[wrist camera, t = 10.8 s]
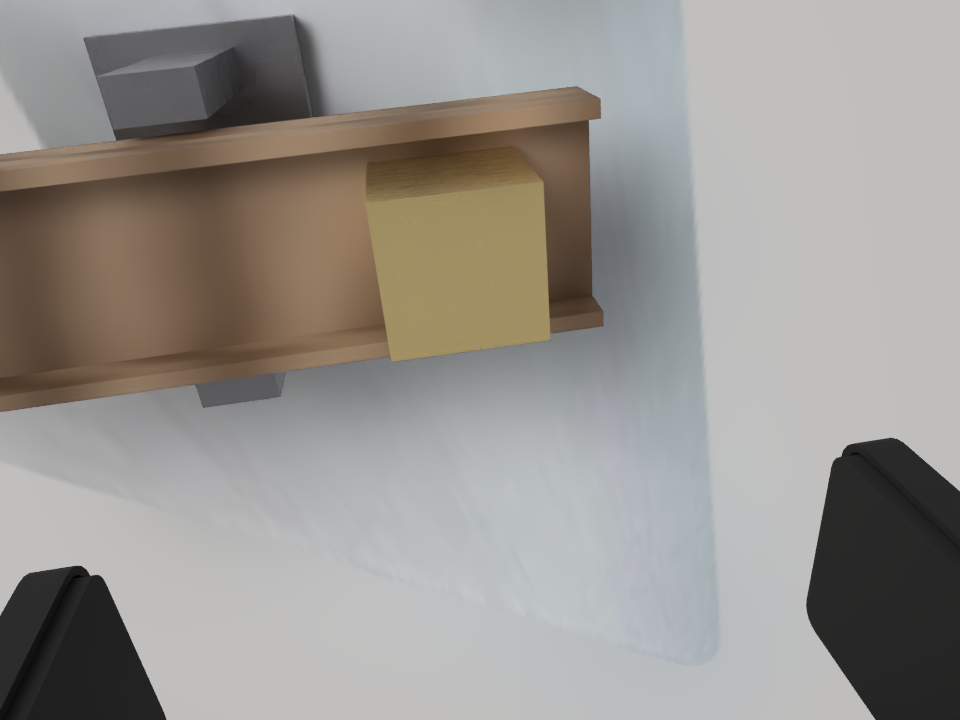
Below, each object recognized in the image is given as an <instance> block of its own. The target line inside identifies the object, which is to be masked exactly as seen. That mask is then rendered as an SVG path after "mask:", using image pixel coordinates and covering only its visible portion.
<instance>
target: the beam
mask: <svg viewBox="0 0 960 720" xmlns="http://www.w3.org/2000/svg"><path fill="white" fill-rule="evenodd" d="M593 119H601V103H600V98H598V97H596V96H594V95H592V94H590V93H588V92H587V91H585V90H583V89H581V88H579V87H577V86H576V87H568V88H559V89H551V90H542V91H534V92H526V93H517V94H509V95H500V96H492V97H483V98H475V99H466V100H458V101H449V102H441V103H432V104H424V105H416V106H407V107H399V108H390V109H382V110H373V111H365V112H356V113H348V114H339V115H331V116H322V117H314V118H306V119H297V120H289V121H280V122H272V123H263V124H255V125H246V126H238V127H229V128H221V129H212V130H204V131H195V132H187V133H177V134H170V135H162V136H153V137H145V138H136V139H128V140H119V141H111V142H102V143H94V144H85V145H77V146H69V147H60V148H52V149H43V150H35V151H26V152H18V153H9V154H1V155H0V412H4V411H11V410H18V409H25V408H32V407H39V406H46V405H53V404H60V403H67V402H74V401H81V400H88V399H95V398H102V397H109V396H116V395H123V394H130V393H137V392H144V391H151V390H158V389H165V388H172V387H179V386H186V385H193V384H200V383H207V382H214V381H221V380H228V379H235V378H242V377H249V376H256V375H263V374H271V373H278V372H285V371H292V370H299V369H306V368H313V367H320V366H327V365H334V364H341V363H348V362H355V361H362V360H369V359H376V358H383V357H390V351H389V345H388V339H387V333H386V326H385V320H384V314H383V308H382V302H381V296H380V290H379V284H378V278H377V272H376V265H375V259H374V253H373V247H372V241H371V235H370V229H369V223H368V217H367V211H366V205H365V196H366V166H367V162H376V161H384V160H393V159H402V158H410V157H419V156H427V155H436V154H444V153H453V152H462V151H470V150H479V149H487V148H496V147H505V146H514V147H515V148H516V149H517V151H518V152H519V153H520V154H521V155H522V157H523V158H524V159H525V160H526V161H527V163H528V164H529V165H530V166H531V167H532V169H533V170H534V171H535V172H536V173H537V175H538V176H539V177H540V178H541V179H542V181H543V183H544V206H545V228H546V251H547V273H548V296H549V318H550V334H551V333H558V332H565V331H572V330H579V329H586V328H593V327H600V326H603V310H602V309H601V307H600V306H599V305H598V303H597V302H596V300H595V299H594V297H593V296H592V261H591V211H590V162H589V120H593Z"/></svg>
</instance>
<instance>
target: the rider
mask: <svg viewBox="0 0 960 720" xmlns="http://www.w3.org/2000/svg"><path fill="white" fill-rule="evenodd" d="M365 205H366V211H367V217H368V223H369V229H370V235H371V241H372V247H373V253H374V259H375V265H376V272H377V278H378V284H379V290H380V296H381V302H382V308H383V314H384V320H385V326H386V333H387V339H388V345H389V351H390V357H391V362H395V361H402V360H409V359H417V358H424V357H431V356H439V355H446V354H453V353H460V352H468V351H475V350H482V349H490V348H497V347H504V346H512V345H519V344H526V343H533V342H541V341H548V340H550V318H549V296H548V273H547V251H546V228H545V206H544V183H543V181H542V179H541V178H540V177H539V176H538V175H537V173H536V172H535V171H534V170H533V169H532V167H531V166H530V165H529V164H528V163H527V161H526V160H525V159H524V158H523V157H522V155H521V154H520V153H519V152H518V151H517V149H516V148H515V147H514V146H505V147H496V148H487V149H479V150H470V151H462V152H453V153H444V154H436V155H427V156H419V157H410V158H402V159H393V160H384V161H376V162H367V166H366V196H365Z"/></svg>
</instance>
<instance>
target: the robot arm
mask: <svg viewBox="0 0 960 720" xmlns="http://www.w3.org/2000/svg"><path fill="white" fill-rule="evenodd" d="M806 607H807V613H808V617H809V620H810V623H811V625H812V627H813V629H814V630H815V632H816V634H817V635H818V637H819V638H820V640H821V641H822V642H823V644H824V645H825V647H826V648H827V650H828V651H829V653H830V654H831V656H832V657H833V658H834V660H835V661H836V663H837V664H838V666H839V667H840V669H841V670H842V672H843V673H844V674H845V676H846V677H847V679H848V680H849V682H850V683H851V685H852V686H853V687H854V689H855V690H856V692H857V693H858V695H859V696H860V698H861V699H862V701H863V702H864V704H865V705H866V706H867V708H868V709H869V711H870V712H871V714H872V715H873V717H874V718H875V719H876V720H960V491H959V490H957V489H956V488H955V487H954V486H953V485H952V484H950V483H949V482H948V481H947V480H946V479H945V478H944V477H942V476H941V475H940V474H939V473H938V472H937V471H935V470H934V469H933V468H932V467H931V466H930V465H928V464H927V463H926V462H925V461H924V460H923V459H922V458H920V457H919V456H918V455H917V454H916V453H915V452H914V451H912V450H911V449H910V448H909V447H908V446H906V445H905V444H904V443H903V442H901V441H900V440H898V439H894V438H887V439H880V440H874V441H868V442H861V443H855V444H851V445H848V446H847V447H846V448H845V449H844V450H843V453H842V456H841V457H839V458H836V459H835V460H834V462H833V464H832V467H831V473H830V478H829V483H828V489H827V494H826V499H825V505H824V511H823V516H822V521H821V526H820V532H819V537H818V542H817V548H816V553H815V559H814V564H813V569H812V574H811V580H810V586H809V591H808V596H807V603H806ZM0 720H166V717H165V714H164V712H163V710H162V707H161V705H160V703H159V701H158V699H157V696H156V694H155V692H154V689H153V687H152V685H151V683H150V681H149V678H148V677H147V674H146V672H145V669H144V667H143V665H142V663H141V661H140V659H139V656H138V654H137V652H136V650H135V647H134V645H133V643H132V641H131V639H130V636H129V634H128V632H127V629H126V627H125V625H124V623H123V621H122V618H121V616H120V614H119V612H118V609H117V607H116V605H115V603H114V600H113V598H112V596H111V594H110V592H109V590H108V587H107V585H106V583H105V581H104V579H103V578H102V577H101V576H99V575H93V576H90V575H89V573H88V571H87V570H86V569H85V568H83V567H82V566H72V567H65V568H59V569H53V570H46V571H40V572H34V573H29V574H27V575H26V576H24V577H23V579H22V580H21V581H20V582H19V584H18V586H17V587H16V589H15V591H14V593H13V594H12V596H11V598H10V600H9V601H8V603H7V605H6V607H5V608H4V610H3V612H2V614H1V616H0Z"/></svg>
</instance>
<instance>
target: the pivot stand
mask: <svg viewBox="0 0 960 720" xmlns="http://www.w3.org/2000/svg"><path fill="white" fill-rule="evenodd" d="M83 39H84V42H85V45H86V48H87V51H88V54H89V57H90V60H91V63H92V66H93V69H94V72H95V76H96V79H97V82H98V85H99V88H100V91H101V94H102V97H103V100H104V103H105V106H106V110H107V113H108V116H109V119H110V122H111V125H112V128H113V131H114V134H115V137H116V140H117V141H119V140H128V139H136V138H145V137H153V136H162V135H170V134H177V133H187V132H195V131H204V130H212V129H221V128H229V127H238V126H246V125H255V124H263V123H272V122H280V121H289V120H297V119H306V118H313V113H312V108H311V103H310V98H309V93H308V88H307V83H306V77H305V72H304V67H303V62H302V57H301V52H300V47H299V41H298V36H297V31H296V26H295V21H294V16H293V15H284V16H275V17H265V18H256V19H247V20H237V21H228V22H219V23H210V24H200V25H191V26H182V27H173V28H163V29H154V30H145V31H135V32H126V33H117V34H108V35H98V36H91V37H86V38H83ZM285 374H286V371H285V372H278V373H271V374H263V375H256V376H249V377H242V378H235V379H228V380H221V381H214V382H207V383H200V384H196V387H197V390H198V393H199V396H200V399H201V403H202V406H203V408H205V407H212V406H219V405H226V404H233V403H240V402H247V401H254V400H261V399H268V398H275V397H280V396H281V392H282V387H283V383H284V378H285Z"/></svg>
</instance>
